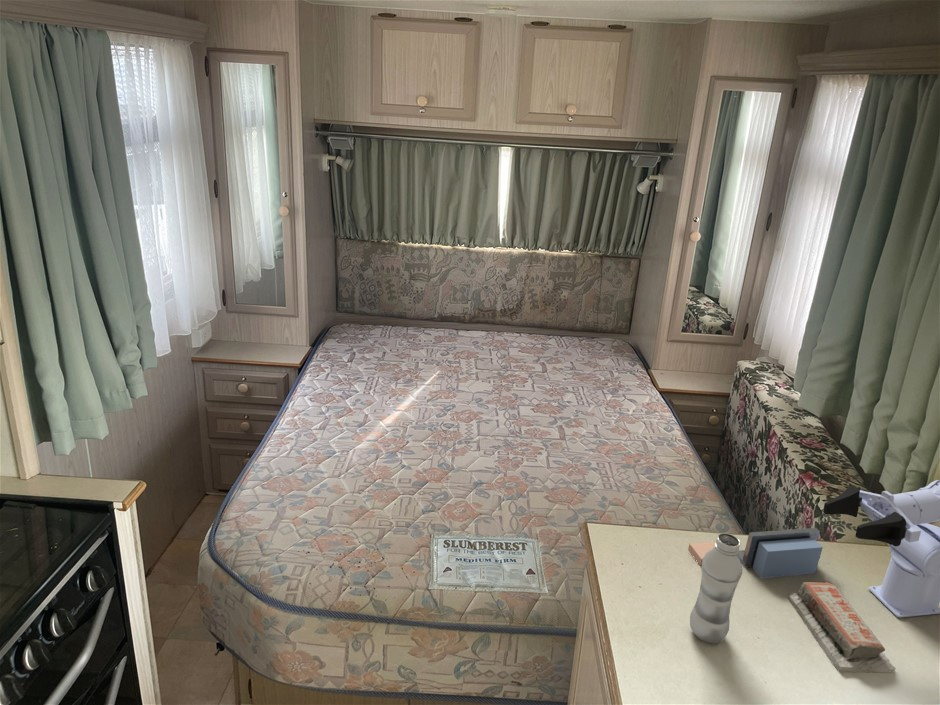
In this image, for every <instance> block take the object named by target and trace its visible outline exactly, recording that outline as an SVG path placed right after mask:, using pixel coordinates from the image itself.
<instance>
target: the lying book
mask: <svg viewBox="0 0 940 705" xmlns="http://www.w3.org/2000/svg"><path fill="white" fill-rule="evenodd" d="M715 542H716V541H704V542H693V543H691V542H690V543H689V545H688V549H687V550H688V552H689V553H690V552H691V553H690V554H691V556H692V557H693V556H694V557H693V558H694V560H695V561H696V560H697V561H696V562H697V563H699V564H698V565H699V566H702V561H703V557H704V556H705V554H706V553H707V552H708V551H709V550H711V549H713V548H715Z"/></svg>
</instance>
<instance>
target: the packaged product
mask: <svg viewBox="0 0 940 705" xmlns="http://www.w3.org/2000/svg"><path fill="white" fill-rule="evenodd" d="M788 600H789V601H790V602H791V604H792V605H793V607H794V609H795V610H796V612H797V613H798V615H799V616H800V618H801V619H802V622H803V623H804V624H805V625H806V627H807V628H808V630H809V632H810V633H811V635H812V636H813V638H814V640H816V642H817V644H818V646H819V647H820V648H821V649H822V652H824V654H825V655H826V656H827V658H828V659H829V661H830V662H831V663H832V665H833V666H834V667H835V669H836V670H837V672H841V673H843V672H844V673H846V672H847V673H893V671H894V672H895V670H896V667H895V666H894V665H893V664H892V662H890V659H889V657H887V655H885V653H884V652H885V651H886V648H885V647H884V645H883V644H882V643H881V641H880V640H879V639H878V638H877V636H876V635H875V634H874V633H873V631H872V630H871V629H870V627H869V626H868V624H866V623H865V621H864V620H863V618H861V616H860V615H859V614H858V612H857V611H856V610H855V609H854V607H853V606H852V604H851V603H850V602H849V601H848V599H847V598H846V597H845V596H844V594H843V593H842V592H841V591H840V589H839V588H838V587H837V586H836V585H835V584H833V583H830V582H827V581H826V582H816V581H815V582H814V581H812V582H809V581H808V582H807V581H806V582H802V583H801V585H800V588H799V589H798V592H791V593H790V594H788Z"/></svg>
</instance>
